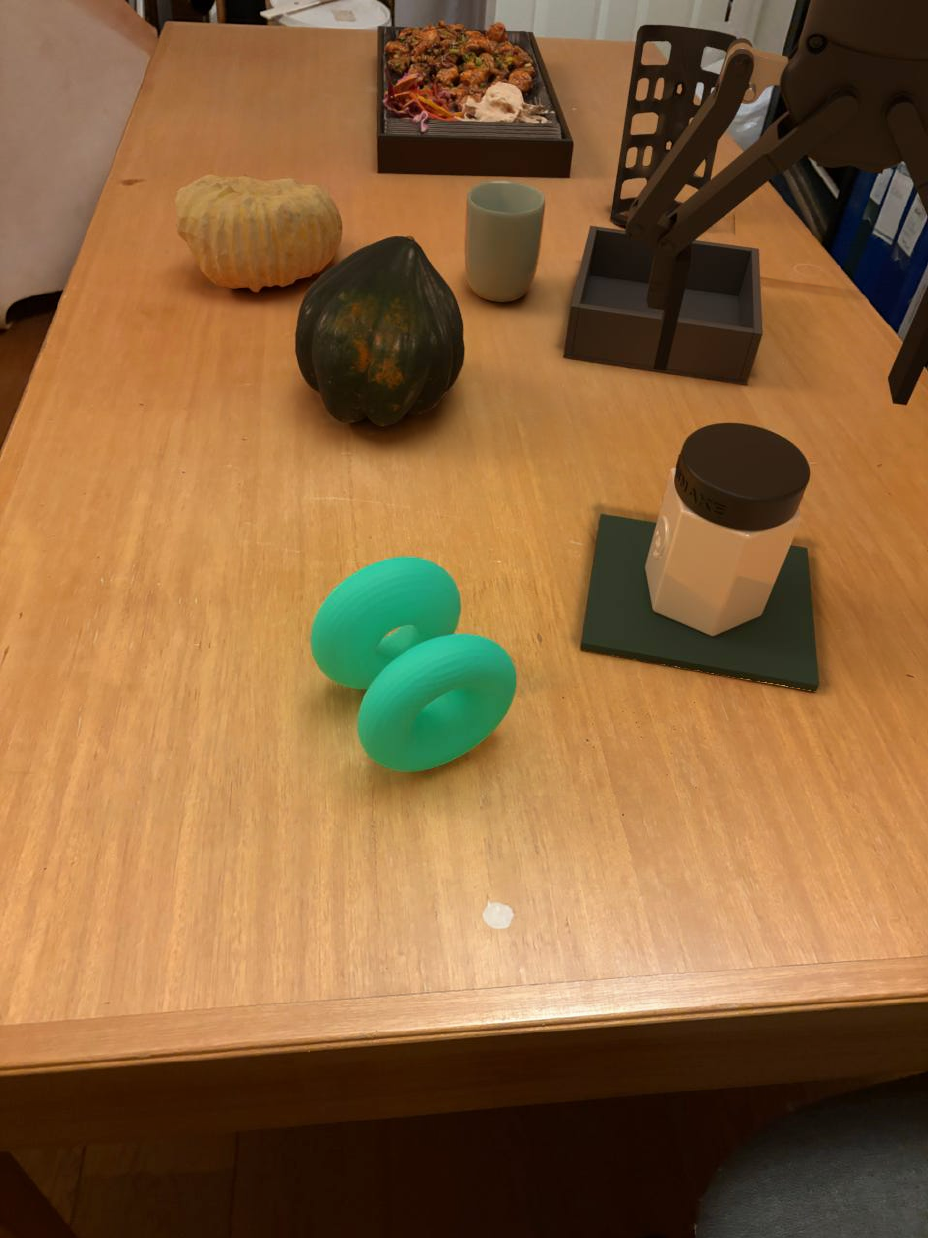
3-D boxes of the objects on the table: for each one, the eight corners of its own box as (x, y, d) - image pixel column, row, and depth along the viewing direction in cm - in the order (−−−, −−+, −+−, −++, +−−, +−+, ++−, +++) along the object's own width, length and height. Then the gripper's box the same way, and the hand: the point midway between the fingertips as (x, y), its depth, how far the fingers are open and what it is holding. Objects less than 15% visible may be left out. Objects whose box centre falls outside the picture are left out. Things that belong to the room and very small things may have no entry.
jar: (637, 547, 70) (671, 414, 62) (744, 552, 71) (793, 420, 62) (653, 635, 64) (693, 501, 55) (769, 640, 64) (827, 507, 56)
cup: (453, 304, 96) (458, 206, 88) (471, 270, 101) (476, 175, 94) (527, 316, 95) (538, 218, 87) (541, 281, 100) (552, 186, 93)
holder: (609, 231, 109) (642, 31, 95) (604, 210, 114) (635, 19, 101) (703, 238, 109) (749, 40, 96) (693, 217, 114) (735, 28, 101)
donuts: (444, 636, 64) (450, 527, 57) (517, 742, 58) (534, 636, 51) (309, 685, 61) (296, 576, 53) (372, 804, 55) (368, 699, 48)
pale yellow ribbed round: (357, 309, 99) (324, 218, 106) (359, 220, 90) (323, 127, 97) (195, 328, 95) (172, 232, 101) (181, 237, 85) (156, 138, 92)
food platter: (569, 177, 119) (580, 89, 112) (377, 172, 118) (376, 82, 110) (530, 63, 150) (537, -13, 142) (377, 57, 148) (376, -19, 140)
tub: (745, 296, 100) (759, 248, 96) (746, 385, 88) (763, 333, 84) (582, 274, 102) (590, 225, 98) (563, 357, 90) (570, 305, 86)
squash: (241, 375, 75) (358, 252, 67) (291, 293, 86) (398, 178, 77) (371, 486, 81) (494, 386, 73) (403, 397, 92) (513, 301, 83)
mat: (804, 555, 72) (807, 547, 71) (815, 693, 62) (819, 685, 62) (599, 520, 74) (600, 513, 73) (579, 650, 64) (581, 642, 63)
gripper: (618, -79, 38) (558, 378, 53) (1279, -17, 35) (1012, 444, 50) (632, -113, 43) (573, 313, 58) (1210, -61, 40) (986, 370, 56)
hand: (777, 375), depth 54 cm, fingers open, 13 cm apart
